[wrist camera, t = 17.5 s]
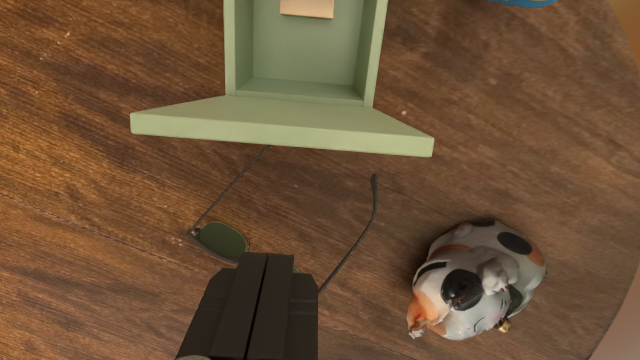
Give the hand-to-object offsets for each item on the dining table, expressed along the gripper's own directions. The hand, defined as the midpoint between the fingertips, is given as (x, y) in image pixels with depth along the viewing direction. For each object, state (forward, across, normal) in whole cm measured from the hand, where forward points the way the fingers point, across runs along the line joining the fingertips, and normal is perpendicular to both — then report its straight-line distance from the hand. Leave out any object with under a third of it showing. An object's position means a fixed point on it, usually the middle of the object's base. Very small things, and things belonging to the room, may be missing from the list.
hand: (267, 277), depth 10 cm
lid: (+12, 0, -3) cm, 12 cm away
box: (+28, 0, -8) cm, 29 cm away
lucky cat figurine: (+28, -21, +19) cm, 40 cm away
